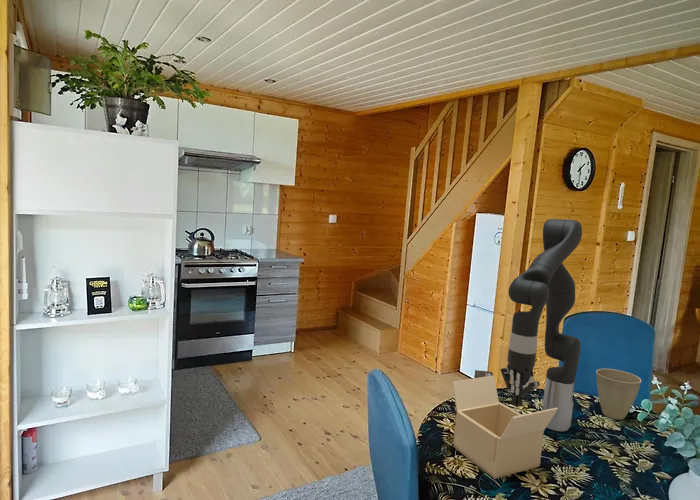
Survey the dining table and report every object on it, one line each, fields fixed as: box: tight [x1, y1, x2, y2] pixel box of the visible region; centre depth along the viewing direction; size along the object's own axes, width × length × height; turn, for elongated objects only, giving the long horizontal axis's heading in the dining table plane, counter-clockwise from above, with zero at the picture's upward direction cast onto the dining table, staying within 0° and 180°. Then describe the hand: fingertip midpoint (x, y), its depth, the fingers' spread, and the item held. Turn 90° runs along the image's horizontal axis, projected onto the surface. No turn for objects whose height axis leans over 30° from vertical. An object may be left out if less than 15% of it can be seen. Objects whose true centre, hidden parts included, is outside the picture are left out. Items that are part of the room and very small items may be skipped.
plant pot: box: [595, 368, 642, 421], centre depth 177 cm, size 15×15×16 cm
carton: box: [453, 402, 545, 480], centre depth 142 cm, size 19×18×12 cm
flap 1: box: [451, 374, 500, 412], centre depth 151 cm, size 17×9×1 cm
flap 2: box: [500, 408, 558, 440], centre depth 132 cm, size 17×9×1 cm
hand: (516, 405), depth 136 cm, fingers closed
